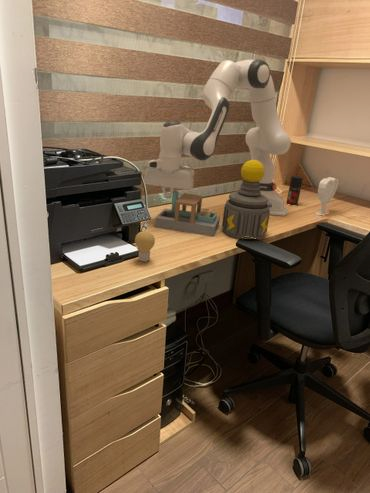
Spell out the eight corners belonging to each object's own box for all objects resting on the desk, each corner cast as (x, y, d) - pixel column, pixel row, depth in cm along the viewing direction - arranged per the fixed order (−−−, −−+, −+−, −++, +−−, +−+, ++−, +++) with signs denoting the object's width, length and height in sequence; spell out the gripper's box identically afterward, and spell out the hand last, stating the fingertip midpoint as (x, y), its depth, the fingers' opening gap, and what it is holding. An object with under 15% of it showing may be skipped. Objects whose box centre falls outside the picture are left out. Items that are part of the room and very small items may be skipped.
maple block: (210, 218, 158) (211, 209, 156) (208, 221, 154) (209, 212, 153) (201, 217, 158) (202, 208, 157) (199, 220, 155) (200, 211, 153)
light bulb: (140, 265, 121) (141, 236, 117) (130, 258, 125) (131, 230, 122) (157, 262, 124) (159, 233, 120) (147, 254, 129) (148, 227, 125)
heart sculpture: (320, 217, 187) (328, 181, 180) (310, 214, 190) (318, 179, 184) (332, 211, 198) (341, 177, 191) (323, 209, 201) (331, 175, 194)
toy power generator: (275, 235, 158) (288, 162, 146) (248, 244, 145) (260, 166, 134) (239, 222, 170) (249, 154, 158) (211, 230, 157) (220, 157, 146)
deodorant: (299, 204, 206) (304, 177, 200) (294, 206, 201) (299, 178, 196) (289, 202, 209) (294, 175, 203) (284, 203, 205) (289, 176, 199)
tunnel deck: (218, 225, 163) (222, 198, 159) (213, 236, 150) (217, 207, 146) (164, 217, 168) (166, 190, 163) (154, 226, 155) (156, 198, 150)
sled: (216, 218, 158) (218, 195, 155) (213, 222, 152) (216, 199, 149) (173, 211, 162) (174, 189, 158) (169, 216, 156) (170, 193, 152)
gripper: (196, 165, 152) (193, 199, 158) (148, 159, 156) (147, 192, 162) (193, 168, 147) (190, 203, 152) (143, 162, 151) (142, 196, 156)
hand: (167, 197), depth 157 cm, fingers closed
